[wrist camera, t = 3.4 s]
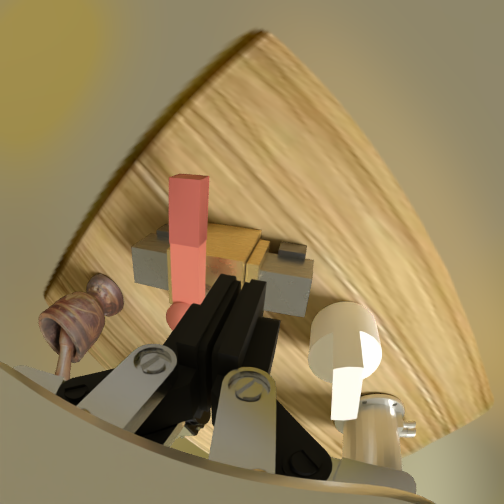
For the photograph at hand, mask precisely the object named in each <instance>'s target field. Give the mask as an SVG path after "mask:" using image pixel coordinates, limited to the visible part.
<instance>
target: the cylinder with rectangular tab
mask: <svg viewBox="0 0 504 504" xmlns="http://www.w3.org/2000/svg"><path fill="white" fill-rule="evenodd" d="M381 358H382V349H381V344H380V339H379V334H378V330H377V325H376V321H375V318H374V316H373V314H372V313H371V312H370V310H369V309H368V308H366V307H364V306H363V305H361V304H358V303H355V302H345V301H344V302H337V303H334V304H331V305H329V306H326V307H325V308H324V309H322V310H321V311H320V312H319V313H318V314H317V315H316V316H315V318H314V320H313V322H312V325H311V335H310V345H309V355H308V363H309V367H310V369H311V370H312V372H313V373H314V374H315V375H316V376H317V377H318V378H320V379H322V380H324V381H326V382H330V383H332V405H331V420H352V419H357V414H358V408H359V401H360V395H361V388H362V380H363V379H364V378H366V377H368V376H369V375H371V374H372V373H373V372H374V371H375V370H376V369H377V367H378V366H379V364H380V361H381Z"/></svg>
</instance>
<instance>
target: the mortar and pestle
mask: <svg viewBox="0 0 504 504" xmlns="http://www.w3.org/2000/svg"><path fill="white" fill-rule="evenodd" d="M123 304H124V302H123V296H122V293H121V291H120V289H119V288H118V286H117V285H116V284H115V283H114V282H113V281H112V280H110V279H109V278H107V277H106V276H104V275H103V274H101V273H100V274H99V275H95V276H93V277H92V279H91V280H90V281H89V283H88V284H87V293H85V292H74V293H72V294H70V295H66V296H64V297H62V298H60V299H59V300H58V301H56V302H55V303H54V304H53V305H52V306H50V307H49V308H48V309H46V310H45V311H44V312H42V313H41V314H40V316H39V327H40V330H41V332H42V334H43V336H44V338H45V340H46V341H47V343H48V344H49V345H50V347H51V348H52V349H53V350H54V351H55V352H56V353H57V354H58V355H59V359H58V363H57V369H56V372H55V375H58V376H61V377H64V378H65V380H66V381H67V380H69V379H70V369H71V362H72V363H76V362H79V361H80V360H81V359H82V358H83V356H84V355H85V354H86V352H87V351H88V350H89V349H90V348H91V347H92V346H93V344H94V343H95V342H96V341H97V339H98V337H99V336H100V334H101V332H102V329H103V328H104V325H105V317H104V315H105V316H113V315H115V314H117V313H119V312H120V311H121V310H122V309H123Z"/></svg>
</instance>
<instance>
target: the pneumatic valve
mask: <svg viewBox="0 0 504 504" xmlns="http://www.w3.org/2000/svg"><path fill="white" fill-rule="evenodd" d="M210 415H211V413H210V410H209V412H206V411H203V414H202V416H201V418H200V419H199V418H196V417H193V419H190V420H187V421H185V425H184V427H183V429H182V430H181V432H180V433H179V435H178V436H177V437H176V438H178V437H179V436H180V438H184V437H185V436H195V435H197V434H198V431H199V430H200V428H203V427H204V425H205V424H207V423H208V421H209V419H210Z"/></svg>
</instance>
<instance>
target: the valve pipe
mask: <svg viewBox="0 0 504 504" xmlns="http://www.w3.org/2000/svg"><path fill="white" fill-rule="evenodd" d="M261 231H262V230H255V229H249V228H242V227H235V226H228V225H221V224H215V223H208V222H207V240H206V275H205V297H206V295H207V294H208V292H209V291H210V289H211V288H212V286H213V285H214V283H215V282H216V280H217V278H218V277H219V275H220V274H227V275H232V276H236V278H237V280H238V281H241V289H242V287H243V285H244V283H245V282H249V283H250V281H251V279H255V280H261V281H266V282H267V285H266V294H265V302H264V310H265V311H270V312H276V313H281V314H287V315H293V316H299V317H305V312H306V307H307V303H308V298H309V293H310V288H311V283H312V276H313V263H314V260H310V259H305V255H306V248H307V246H305V245H299V244H293V243H287V242H281V245H280V247H279V251H278V254H273V253H269V247H270V241H265V240H261ZM131 248H132V260H133V270H134V279H135V283H139V284H143V285H148V286H152V287H156V288H160V289H164V290H169V302H170V304H173V299H172V281H171V256H170V243H169V224H165V225H164V226H162V227H161V228H159V229H158V230H157V234H150V235H148V236H147V237H145V238H144V239H142V240H141V241H139V242H138V243H136V244H135V245H134V246H132V247H131Z"/></svg>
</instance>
